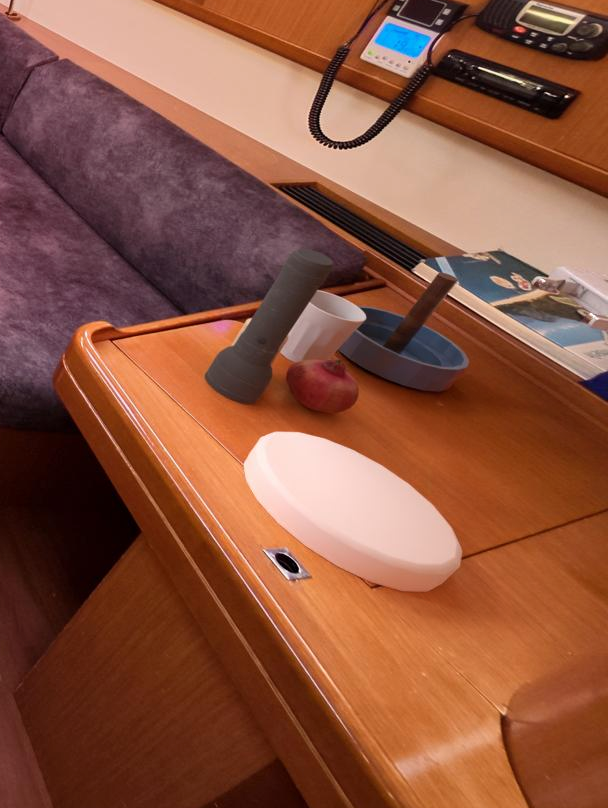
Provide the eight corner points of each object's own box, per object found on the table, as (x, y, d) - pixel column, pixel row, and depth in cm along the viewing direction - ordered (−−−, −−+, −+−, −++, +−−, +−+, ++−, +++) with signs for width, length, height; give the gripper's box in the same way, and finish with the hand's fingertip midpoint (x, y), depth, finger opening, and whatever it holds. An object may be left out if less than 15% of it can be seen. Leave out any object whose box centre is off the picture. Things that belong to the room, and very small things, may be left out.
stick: (398, 355, 112) (461, 276, 104) (403, 367, 110) (467, 286, 101) (370, 345, 114) (429, 266, 106) (374, 357, 112) (435, 277, 103)
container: (211, 438, 96) (224, 418, 94) (356, 459, 94) (373, 439, 92) (312, 576, 79) (331, 554, 77) (494, 607, 76) (519, 586, 74)
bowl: (435, 356, 113) (455, 332, 111) (458, 410, 103) (481, 384, 100) (321, 317, 122) (337, 294, 119) (331, 363, 111) (349, 338, 108)
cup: (288, 367, 110) (323, 316, 105) (260, 335, 117) (291, 286, 112) (341, 376, 108) (379, 325, 103) (309, 343, 115) (343, 294, 110)
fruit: (355, 430, 98) (390, 386, 94) (294, 418, 100) (326, 374, 96) (321, 390, 105) (352, 348, 101) (264, 379, 107) (293, 337, 103)
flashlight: (194, 372, 108) (233, 405, 102) (270, 243, 96) (320, 273, 90) (229, 368, 109) (269, 402, 103) (309, 241, 97) (360, 270, 91)
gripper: (636, 269, 101) (521, 247, 106) (783, 358, 84) (638, 327, 88) (608, 299, 104) (497, 276, 108) (745, 390, 87) (606, 359, 91)
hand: (561, 300), depth 98 cm, fingers open, 8 cm apart
